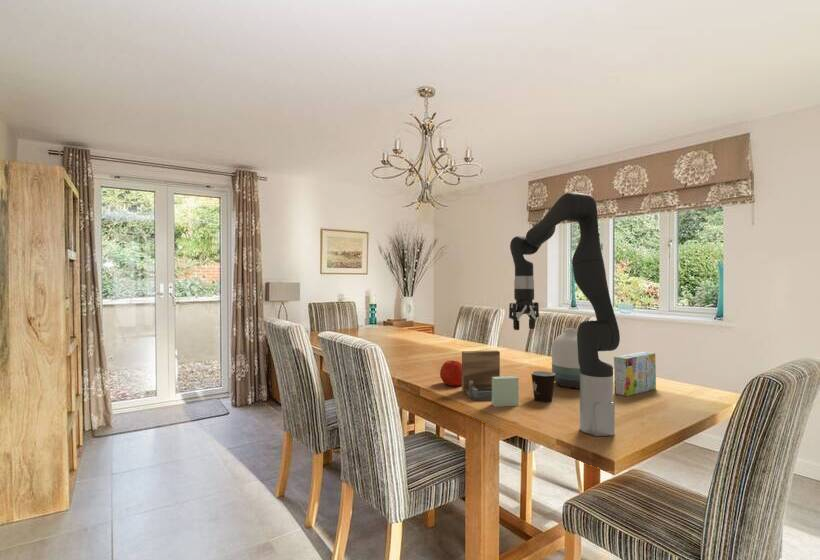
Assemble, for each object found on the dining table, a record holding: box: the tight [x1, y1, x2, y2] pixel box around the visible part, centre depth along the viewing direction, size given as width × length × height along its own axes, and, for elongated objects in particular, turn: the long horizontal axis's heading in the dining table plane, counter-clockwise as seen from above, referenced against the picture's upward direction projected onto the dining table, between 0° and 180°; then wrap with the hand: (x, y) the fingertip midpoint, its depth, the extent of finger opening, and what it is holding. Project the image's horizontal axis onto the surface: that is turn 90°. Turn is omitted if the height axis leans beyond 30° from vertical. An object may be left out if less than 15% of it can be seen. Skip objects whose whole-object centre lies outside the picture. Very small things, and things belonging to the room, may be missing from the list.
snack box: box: [613, 351, 657, 397], centre depth 178 cm, size 21×6×15 cm, turn 122°
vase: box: [551, 327, 580, 389], centre depth 187 cm, size 17×17×24 cm
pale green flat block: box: [491, 375, 520, 408], centre depth 159 cm, size 3×9×10 cm, turn 99°
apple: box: [439, 360, 462, 387], centre depth 189 cm, size 11×11×11 cm
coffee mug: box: [531, 370, 555, 403], centre depth 167 cm, size 12×9×10 cm
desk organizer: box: [461, 349, 501, 401], centre depth 173 cm, size 14×15×16 cm
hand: (524, 329), depth 171 cm, fingers open, 8 cm apart
